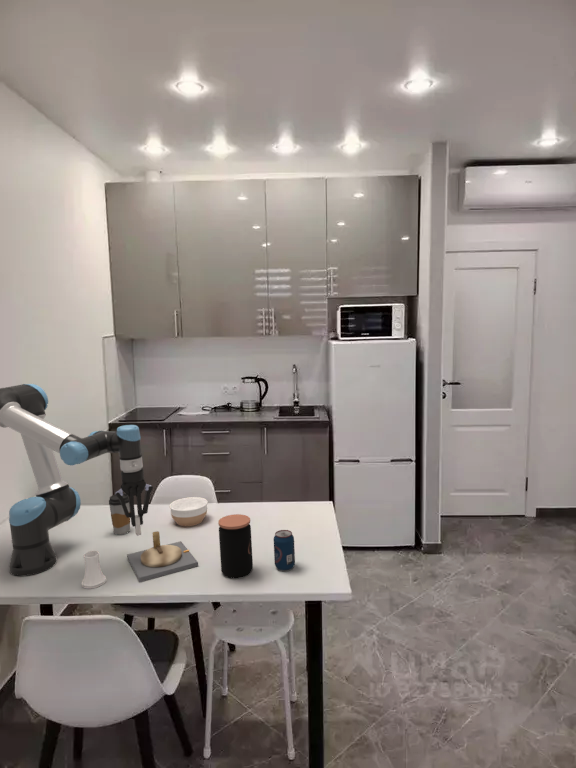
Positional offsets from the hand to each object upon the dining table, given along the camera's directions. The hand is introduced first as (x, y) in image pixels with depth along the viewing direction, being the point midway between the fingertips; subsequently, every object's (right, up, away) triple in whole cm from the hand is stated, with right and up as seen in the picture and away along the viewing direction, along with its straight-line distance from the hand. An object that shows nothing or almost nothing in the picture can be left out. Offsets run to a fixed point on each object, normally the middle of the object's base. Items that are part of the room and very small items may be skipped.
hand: (138, 534), depth 181 cm
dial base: (+9, -10, -1) cm, 13 cm away
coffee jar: (+36, -10, -10) cm, 39 cm away
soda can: (+52, -9, -8) cm, 54 cm away
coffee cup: (-15, -7, +27) cm, 32 cm away
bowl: (+11, -5, +36) cm, 38 cm away
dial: (+8, -8, -1) cm, 12 cm away
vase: (-11, -12, -13) cm, 21 cm away
